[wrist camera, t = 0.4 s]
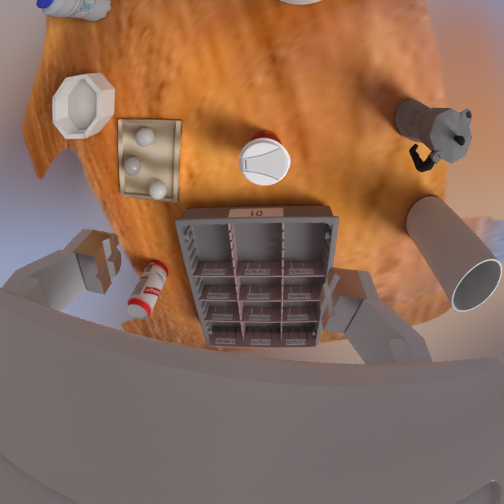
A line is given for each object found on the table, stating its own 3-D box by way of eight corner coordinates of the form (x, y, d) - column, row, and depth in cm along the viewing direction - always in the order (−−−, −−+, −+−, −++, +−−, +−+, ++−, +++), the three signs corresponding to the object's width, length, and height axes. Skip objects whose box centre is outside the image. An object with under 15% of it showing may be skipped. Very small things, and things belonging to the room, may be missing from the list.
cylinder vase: (395, 229, 59) (440, 304, 38) (422, 186, 52) (483, 249, 31) (428, 246, 61) (472, 316, 40) (453, 207, 54) (510, 270, 33)
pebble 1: (140, 125, 49) (132, 129, 45) (158, 126, 49) (150, 130, 45) (140, 143, 51) (132, 148, 48) (157, 144, 51) (149, 149, 48)
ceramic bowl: (67, 78, 41) (52, 80, 37) (116, 70, 42) (102, 71, 37) (67, 133, 49) (53, 139, 45) (113, 131, 50) (100, 137, 45)
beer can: (162, 257, 68) (139, 300, 55) (173, 275, 72) (154, 320, 59) (143, 262, 70) (120, 304, 57) (154, 279, 73) (134, 322, 60)
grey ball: (128, 154, 52) (119, 159, 49) (144, 155, 52) (136, 160, 49) (128, 171, 55) (120, 177, 51) (144, 172, 55) (136, 179, 51)
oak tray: (121, 118, 48) (118, 119, 47) (182, 120, 48) (180, 121, 47) (123, 193, 58) (120, 196, 57) (178, 200, 59) (176, 203, 57)
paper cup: (247, 162, 53) (239, 188, 42) (245, 125, 49) (236, 140, 37) (286, 162, 52) (290, 188, 41) (286, 125, 48) (291, 139, 37)
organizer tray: (331, 199, 56) (341, 222, 48) (316, 323, 79) (319, 350, 71) (184, 202, 59) (170, 225, 51) (211, 323, 82) (205, 349, 74)
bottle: (86, 23, 34) (23, 19, 17) (95, -2, 30) (35, -14, 13) (109, 22, 34) (47, 13, 18) (119, -4, 31) (60, -22, 14)
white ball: (152, 177, 55) (145, 184, 52) (169, 179, 55) (163, 186, 52) (153, 194, 58) (146, 201, 54) (169, 196, 58) (163, 203, 54)
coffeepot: (414, 83, 39) (467, 91, 24) (442, 114, 42) (494, 135, 27) (372, 134, 47) (412, 160, 32) (402, 163, 50) (445, 198, 35)
